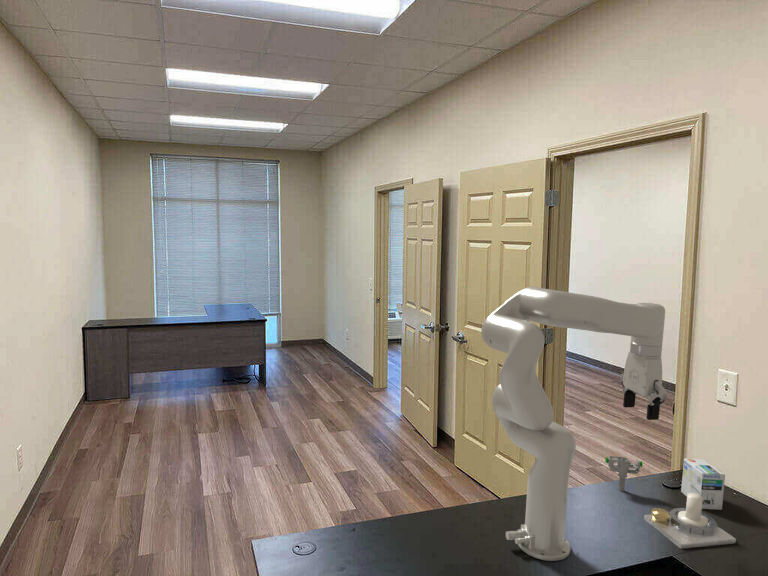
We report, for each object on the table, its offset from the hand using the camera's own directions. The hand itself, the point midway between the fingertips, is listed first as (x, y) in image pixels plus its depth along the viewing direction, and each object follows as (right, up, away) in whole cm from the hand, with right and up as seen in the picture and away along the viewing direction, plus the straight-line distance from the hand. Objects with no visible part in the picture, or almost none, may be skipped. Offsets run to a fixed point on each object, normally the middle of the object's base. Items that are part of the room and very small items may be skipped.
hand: (640, 413), depth 147 cm
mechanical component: (+4, -28, +21) cm, 35 cm away
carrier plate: (+12, -31, -1) cm, 33 cm away
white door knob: (+14, -30, +1) cm, 33 cm away
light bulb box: (+25, -30, +16) cm, 42 cm away
